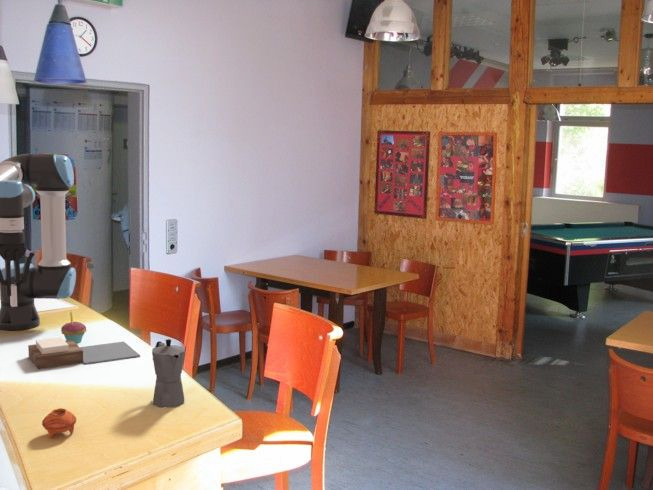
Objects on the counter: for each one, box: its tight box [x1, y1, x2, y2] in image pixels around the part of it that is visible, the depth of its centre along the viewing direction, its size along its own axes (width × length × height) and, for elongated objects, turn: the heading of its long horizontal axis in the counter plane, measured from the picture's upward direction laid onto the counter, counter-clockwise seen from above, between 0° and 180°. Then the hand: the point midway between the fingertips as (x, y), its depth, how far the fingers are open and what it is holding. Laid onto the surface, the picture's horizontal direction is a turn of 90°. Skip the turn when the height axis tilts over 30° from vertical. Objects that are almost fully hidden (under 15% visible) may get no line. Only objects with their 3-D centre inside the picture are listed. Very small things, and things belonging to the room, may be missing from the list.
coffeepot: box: [151, 338, 186, 408], centre depth 201 cm, size 15×9×18 cm, turn 33°
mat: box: [79, 341, 141, 365], centre depth 243 cm, size 18×18×1 cm
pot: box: [41, 407, 77, 438], centre depth 178 cm, size 8×8×7 cm
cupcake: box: [60, 310, 87, 344], centre depth 254 cm, size 9×8×12 cm
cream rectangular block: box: [35, 336, 69, 354], centre depth 234 cm, size 10×8×2 cm
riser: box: [27, 340, 84, 370], centre depth 235 cm, size 14×14×4 cm
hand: (13, 305), depth 226 cm, fingers closed
